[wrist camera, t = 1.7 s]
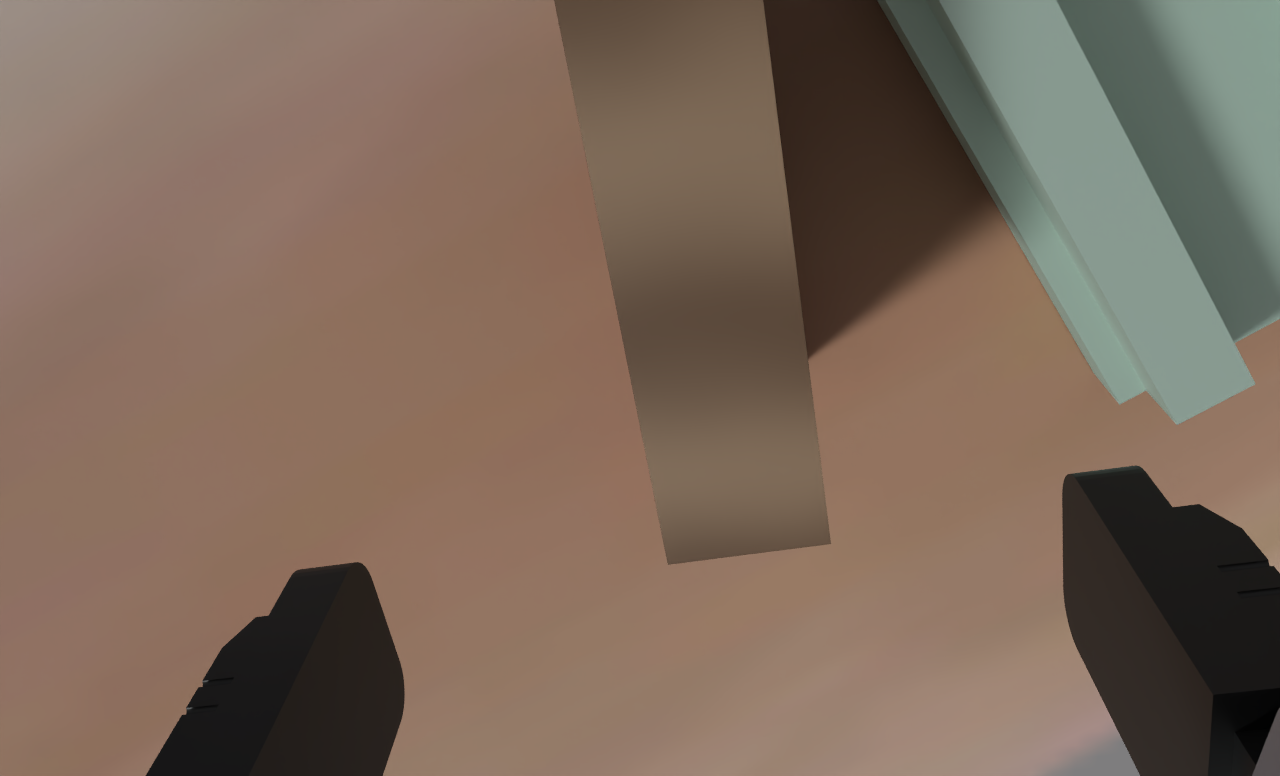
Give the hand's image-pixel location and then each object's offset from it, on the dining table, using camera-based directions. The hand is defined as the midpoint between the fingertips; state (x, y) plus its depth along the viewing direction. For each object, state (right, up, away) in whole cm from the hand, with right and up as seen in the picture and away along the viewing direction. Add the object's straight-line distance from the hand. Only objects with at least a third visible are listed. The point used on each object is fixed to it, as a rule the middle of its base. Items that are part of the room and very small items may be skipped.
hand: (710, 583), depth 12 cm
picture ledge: (+12, +10, +14) cm, 22 cm away
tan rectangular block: (+1, +8, +16) cm, 18 cm away
